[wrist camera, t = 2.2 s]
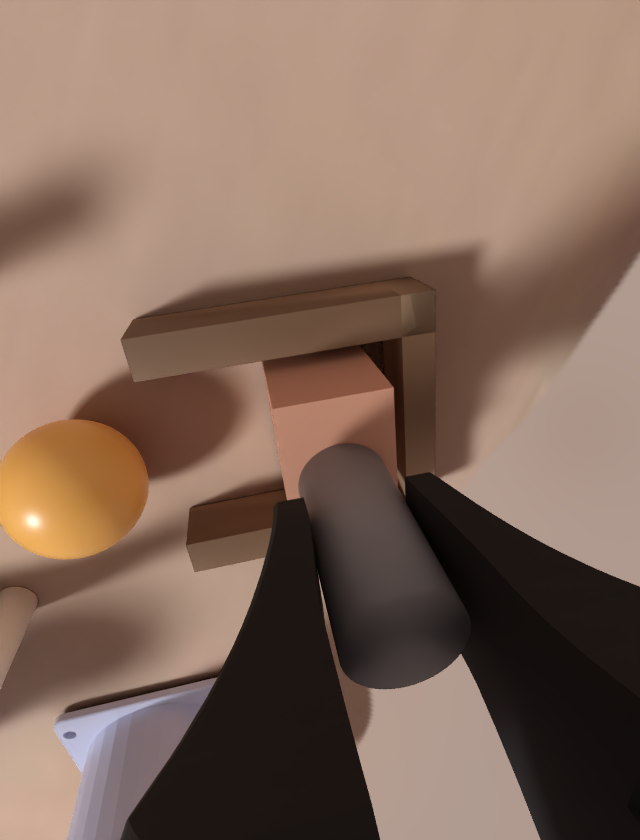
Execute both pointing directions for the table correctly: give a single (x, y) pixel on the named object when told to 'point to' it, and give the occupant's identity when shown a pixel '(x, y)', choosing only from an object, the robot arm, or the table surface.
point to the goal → (13, 623)
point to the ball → (71, 489)
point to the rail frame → (288, 336)
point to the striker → (362, 519)
